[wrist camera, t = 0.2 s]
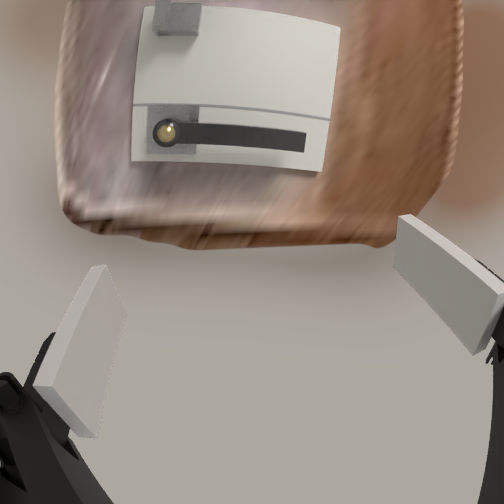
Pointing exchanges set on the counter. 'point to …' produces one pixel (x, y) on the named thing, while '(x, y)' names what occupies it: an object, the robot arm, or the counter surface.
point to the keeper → (176, 18)
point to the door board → (241, 82)
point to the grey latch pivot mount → (177, 112)
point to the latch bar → (227, 135)
